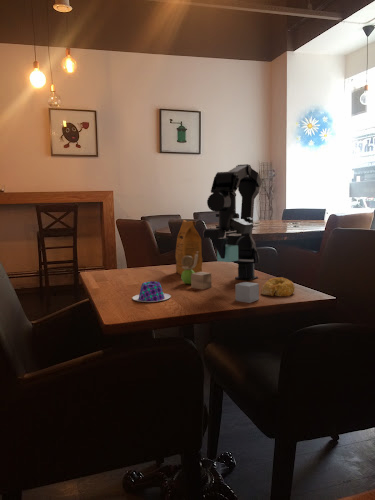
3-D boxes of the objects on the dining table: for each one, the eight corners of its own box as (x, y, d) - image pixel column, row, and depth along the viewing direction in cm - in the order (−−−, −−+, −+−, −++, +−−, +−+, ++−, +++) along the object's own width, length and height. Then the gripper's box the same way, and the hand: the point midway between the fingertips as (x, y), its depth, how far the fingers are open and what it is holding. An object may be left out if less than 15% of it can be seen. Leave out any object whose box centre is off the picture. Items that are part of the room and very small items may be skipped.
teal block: (226, 259, 142) (226, 244, 141) (238, 260, 138) (238, 245, 138) (217, 260, 138) (216, 246, 137) (229, 262, 135) (229, 246, 134)
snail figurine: (197, 285, 147) (196, 252, 146) (179, 285, 149) (179, 252, 147) (200, 282, 153) (199, 250, 151) (183, 282, 154) (182, 250, 153)
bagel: (254, 292, 135) (254, 278, 134) (282, 289, 139) (282, 275, 139) (272, 299, 126) (272, 283, 125) (301, 295, 130) (301, 280, 130)
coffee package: (195, 270, 180) (194, 219, 177) (204, 274, 168) (203, 220, 165) (173, 271, 177) (171, 220, 174) (181, 276, 165) (179, 221, 162)
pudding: (150, 293, 139) (150, 277, 138) (178, 297, 131) (178, 281, 130) (124, 300, 129) (123, 284, 129) (152, 306, 122) (152, 288, 121)
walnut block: (200, 285, 148) (200, 271, 147) (211, 287, 145) (211, 273, 144) (191, 288, 144) (190, 273, 144) (202, 289, 141) (202, 275, 140)
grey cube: (245, 297, 128) (244, 281, 128) (258, 299, 125) (258, 283, 124) (235, 300, 125) (235, 284, 124) (249, 303, 121) (249, 286, 121)
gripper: (230, 211, 124) (230, 263, 126) (263, 209, 138) (263, 255, 140) (201, 211, 131) (202, 260, 133) (235, 209, 145) (236, 253, 147)
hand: (227, 257), depth 138 cm, fingers closed on teal block, 5 cm apart
